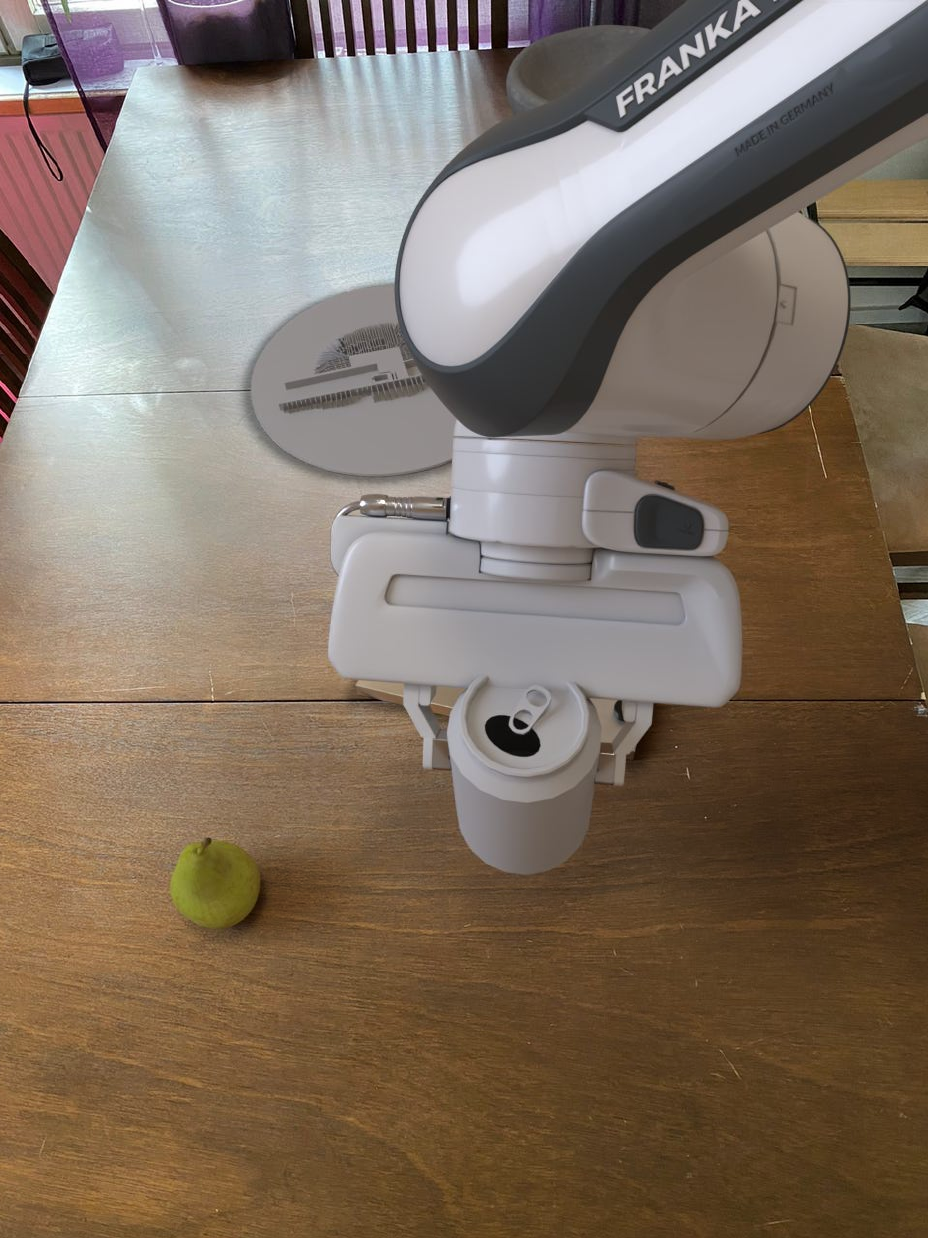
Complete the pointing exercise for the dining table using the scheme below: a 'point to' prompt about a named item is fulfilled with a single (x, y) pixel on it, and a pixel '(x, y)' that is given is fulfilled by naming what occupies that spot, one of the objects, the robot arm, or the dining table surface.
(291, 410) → the plate
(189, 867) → the fruit
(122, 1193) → the dining table surface
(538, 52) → the bowl
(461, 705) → the can
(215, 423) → the dining table surface
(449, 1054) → the dining table surface
